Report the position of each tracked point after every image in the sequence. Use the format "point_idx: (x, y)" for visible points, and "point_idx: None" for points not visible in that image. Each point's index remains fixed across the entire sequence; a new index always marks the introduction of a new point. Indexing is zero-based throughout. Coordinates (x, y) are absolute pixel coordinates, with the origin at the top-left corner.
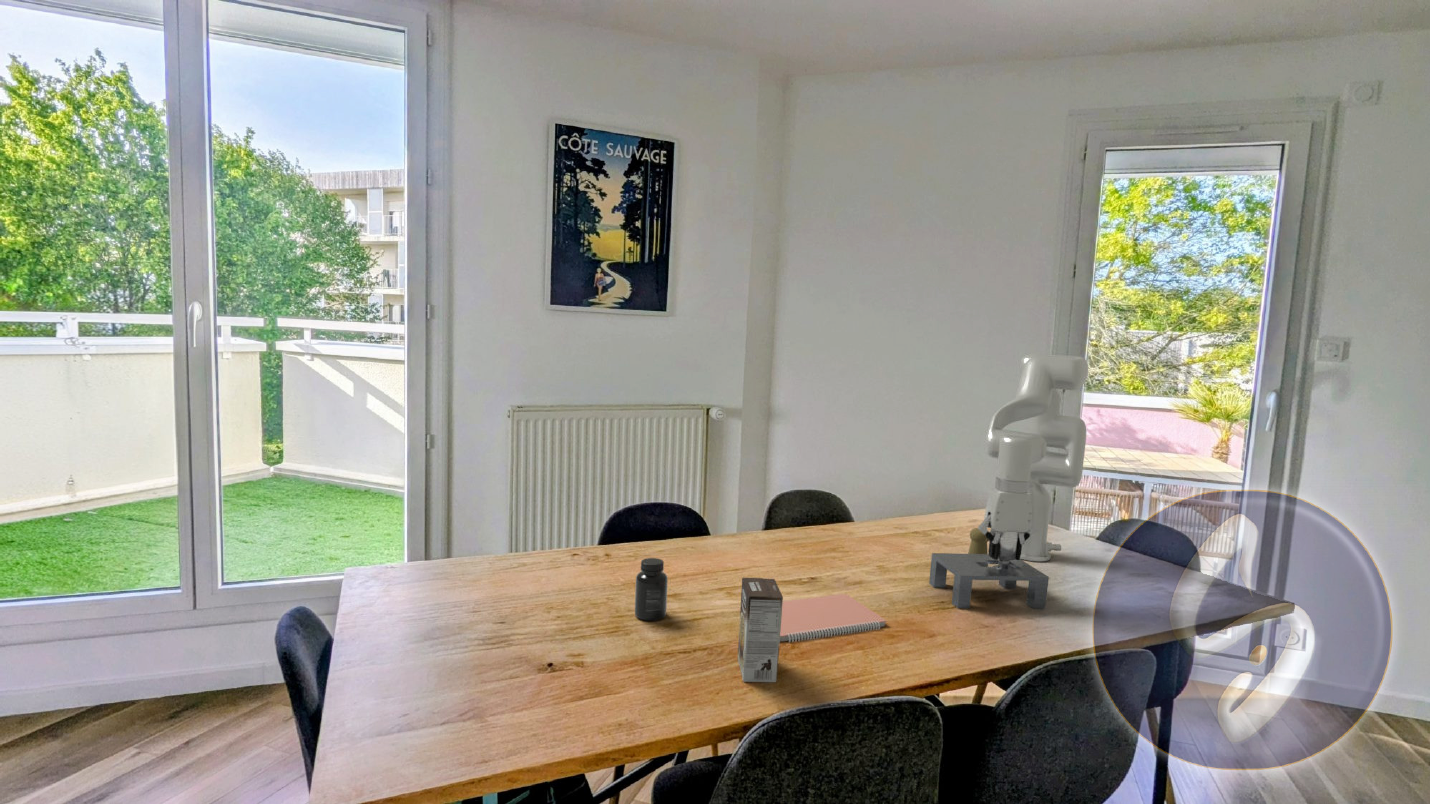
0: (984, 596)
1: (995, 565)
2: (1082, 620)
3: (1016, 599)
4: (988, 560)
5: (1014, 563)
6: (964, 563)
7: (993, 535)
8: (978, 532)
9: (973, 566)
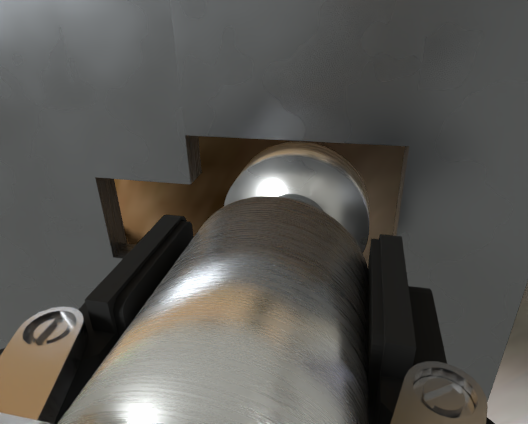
0: (233, 156)
1: (271, 159)
2: (523, 397)
3: (380, 197)
4: (216, 136)
5: (410, 217)
6: (20, 199)
7: (56, 386)
8: None
9: (65, 251)
